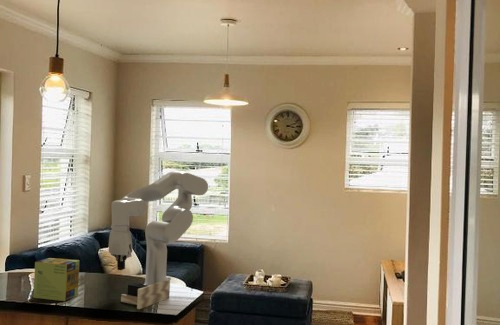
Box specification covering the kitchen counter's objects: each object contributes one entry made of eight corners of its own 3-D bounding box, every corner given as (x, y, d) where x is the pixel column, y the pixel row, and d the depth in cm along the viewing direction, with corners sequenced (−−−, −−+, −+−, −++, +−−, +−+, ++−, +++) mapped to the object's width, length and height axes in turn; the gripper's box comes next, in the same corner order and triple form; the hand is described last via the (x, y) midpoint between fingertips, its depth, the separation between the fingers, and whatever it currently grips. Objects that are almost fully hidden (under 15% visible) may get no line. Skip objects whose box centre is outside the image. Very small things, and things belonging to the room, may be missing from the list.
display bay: (145, 293, 233) (145, 275, 233) (169, 297, 227) (170, 279, 227) (113, 304, 214) (114, 285, 214) (139, 309, 208) (140, 289, 208)
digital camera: (154, 302, 220) (155, 285, 220) (146, 304, 215) (146, 288, 215) (135, 298, 225) (136, 282, 225) (127, 300, 220) (127, 284, 220)
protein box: (65, 301, 215) (67, 264, 215) (32, 298, 218) (34, 261, 218) (78, 295, 226) (80, 260, 226) (47, 292, 229) (48, 257, 229)
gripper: (101, 228, 226) (102, 269, 227) (128, 231, 220) (129, 273, 221) (113, 225, 233) (113, 265, 234) (139, 228, 227) (140, 269, 227)
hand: (121, 269), depth 227 cm, fingers closed
